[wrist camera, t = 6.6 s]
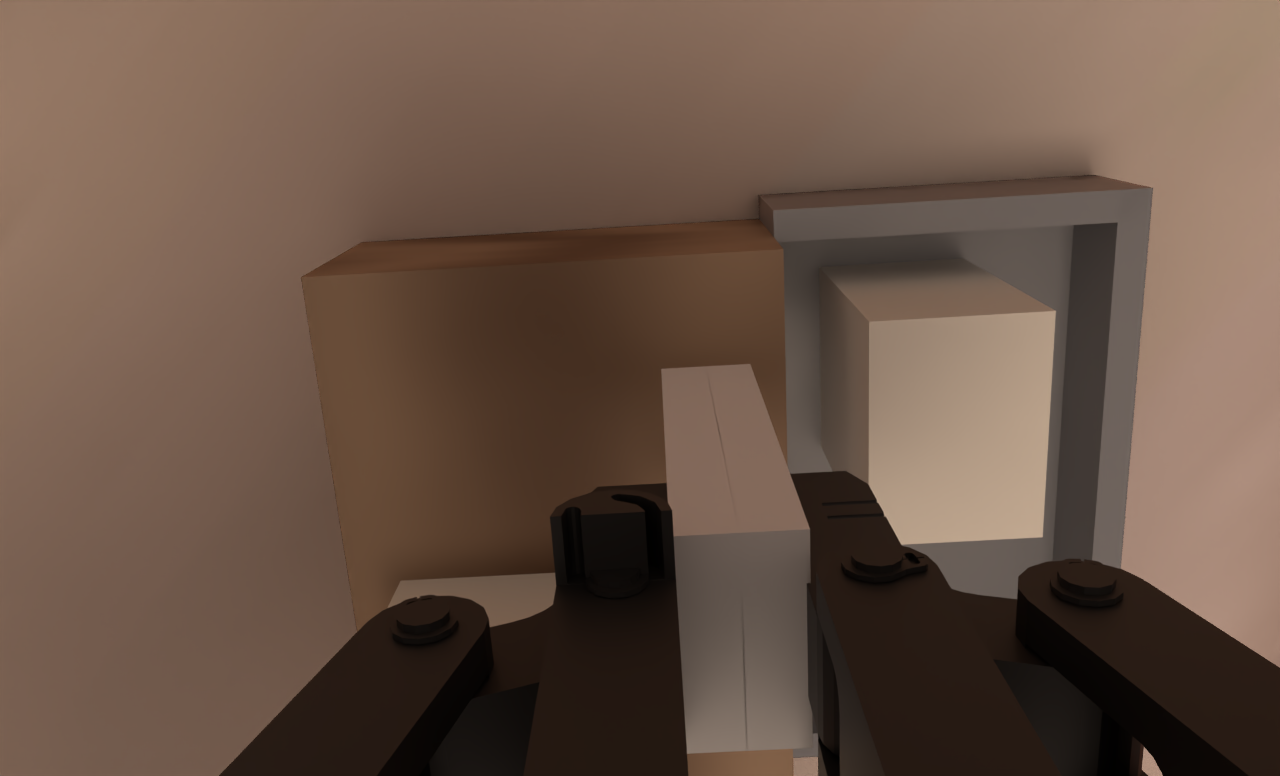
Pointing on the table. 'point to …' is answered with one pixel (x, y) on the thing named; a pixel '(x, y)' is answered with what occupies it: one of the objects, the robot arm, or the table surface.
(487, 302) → the board
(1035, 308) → the beige block
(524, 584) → the beige block
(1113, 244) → the tray
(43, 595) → the table surface
